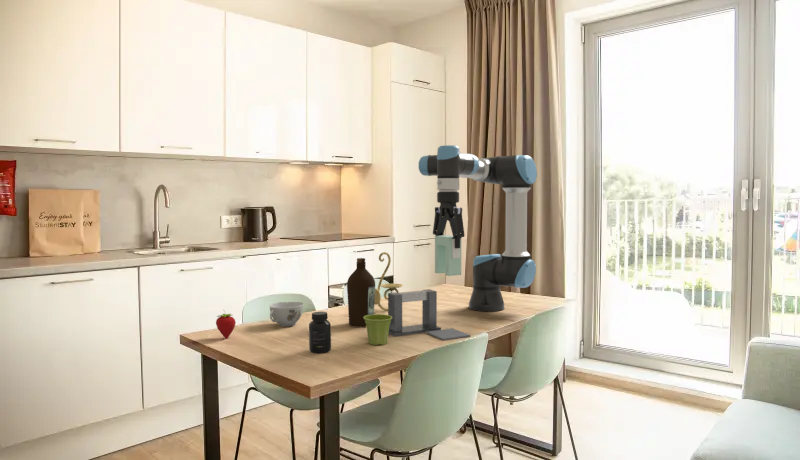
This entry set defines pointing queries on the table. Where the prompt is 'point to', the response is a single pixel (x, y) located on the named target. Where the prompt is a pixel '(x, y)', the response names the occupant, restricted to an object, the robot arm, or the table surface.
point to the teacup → (286, 313)
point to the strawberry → (225, 324)
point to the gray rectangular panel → (448, 334)
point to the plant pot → (377, 328)
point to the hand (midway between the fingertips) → (448, 256)
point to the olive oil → (360, 294)
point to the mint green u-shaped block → (446, 256)
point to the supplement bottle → (319, 333)
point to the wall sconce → (390, 286)
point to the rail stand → (428, 312)
